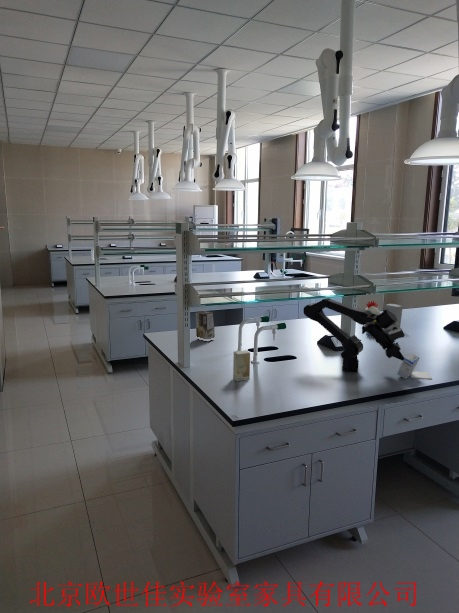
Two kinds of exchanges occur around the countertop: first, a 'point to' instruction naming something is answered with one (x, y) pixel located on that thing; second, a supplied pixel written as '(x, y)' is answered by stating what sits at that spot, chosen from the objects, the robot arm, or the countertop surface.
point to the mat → (421, 375)
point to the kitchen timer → (373, 308)
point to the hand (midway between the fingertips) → (404, 360)
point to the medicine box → (408, 365)
